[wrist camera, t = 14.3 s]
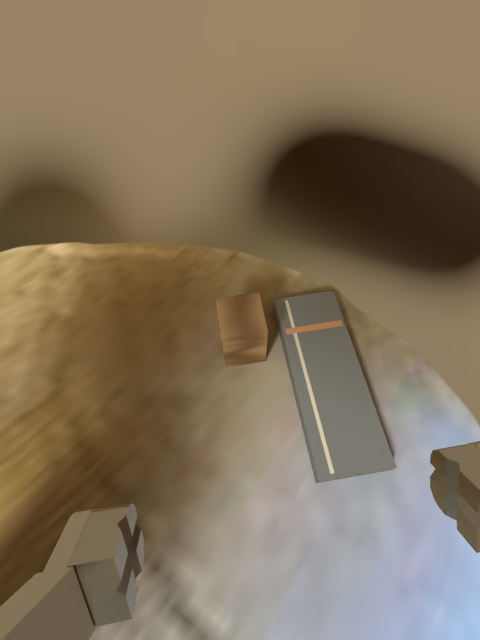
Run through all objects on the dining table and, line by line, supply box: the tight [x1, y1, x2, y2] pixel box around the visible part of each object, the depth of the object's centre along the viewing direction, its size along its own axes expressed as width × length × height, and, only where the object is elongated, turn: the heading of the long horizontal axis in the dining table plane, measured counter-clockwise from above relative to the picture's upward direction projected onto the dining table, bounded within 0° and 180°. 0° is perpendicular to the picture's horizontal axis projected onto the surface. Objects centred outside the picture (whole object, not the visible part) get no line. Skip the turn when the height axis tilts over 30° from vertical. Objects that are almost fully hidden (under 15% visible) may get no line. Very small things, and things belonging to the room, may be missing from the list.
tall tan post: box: [215, 293, 268, 367], centre depth 40 cm, size 5×5×8 cm
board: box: [273, 290, 396, 483], centre depth 40 cm, size 8×22×2 cm, turn 9°
